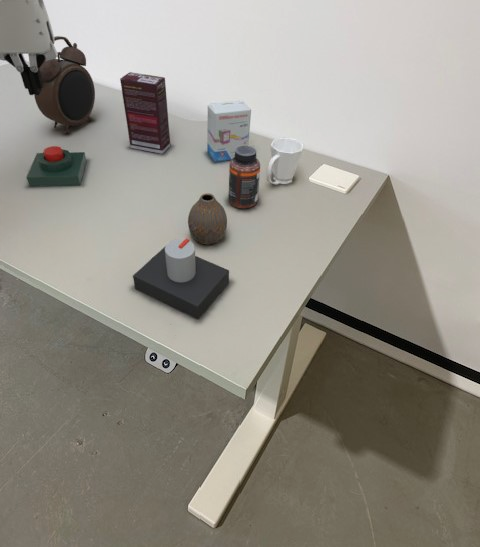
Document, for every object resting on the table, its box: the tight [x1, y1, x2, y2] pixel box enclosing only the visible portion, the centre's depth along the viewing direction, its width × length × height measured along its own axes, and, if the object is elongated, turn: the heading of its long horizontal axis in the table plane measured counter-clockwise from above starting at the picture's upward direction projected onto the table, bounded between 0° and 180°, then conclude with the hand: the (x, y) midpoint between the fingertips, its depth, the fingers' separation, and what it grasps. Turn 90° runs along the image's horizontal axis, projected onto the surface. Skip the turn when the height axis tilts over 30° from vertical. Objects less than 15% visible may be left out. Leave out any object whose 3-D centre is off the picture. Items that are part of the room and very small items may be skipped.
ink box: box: [206, 100, 252, 163], centre depth 95 cm, size 9×5×12 cm, turn 112°
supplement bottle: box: [228, 145, 261, 209], centre depth 81 cm, size 6×6×11 cm
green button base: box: [25, 148, 87, 188], centre depth 88 cm, size 10×10×4 cm
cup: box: [265, 137, 305, 185], centre depth 89 cm, size 7×10×8 cm
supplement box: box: [119, 71, 171, 155], centre depth 94 cm, size 9×5×16 cm, turn 73°
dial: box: [164, 238, 196, 283], centre depth 63 cm, size 4×4×5 cm
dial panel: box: [132, 245, 230, 320], centre depth 66 cm, size 12×9×3 cm
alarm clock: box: [33, 35, 96, 134], centre depth 99 cm, size 15×7×20 cm, turn 154°
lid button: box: [43, 145, 64, 161], centre depth 87 cm, size 4×4×2 cm
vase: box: [187, 192, 228, 245], centre depth 73 cm, size 7×7×9 cm
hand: (36, 92), depth 78 cm, fingers closed
